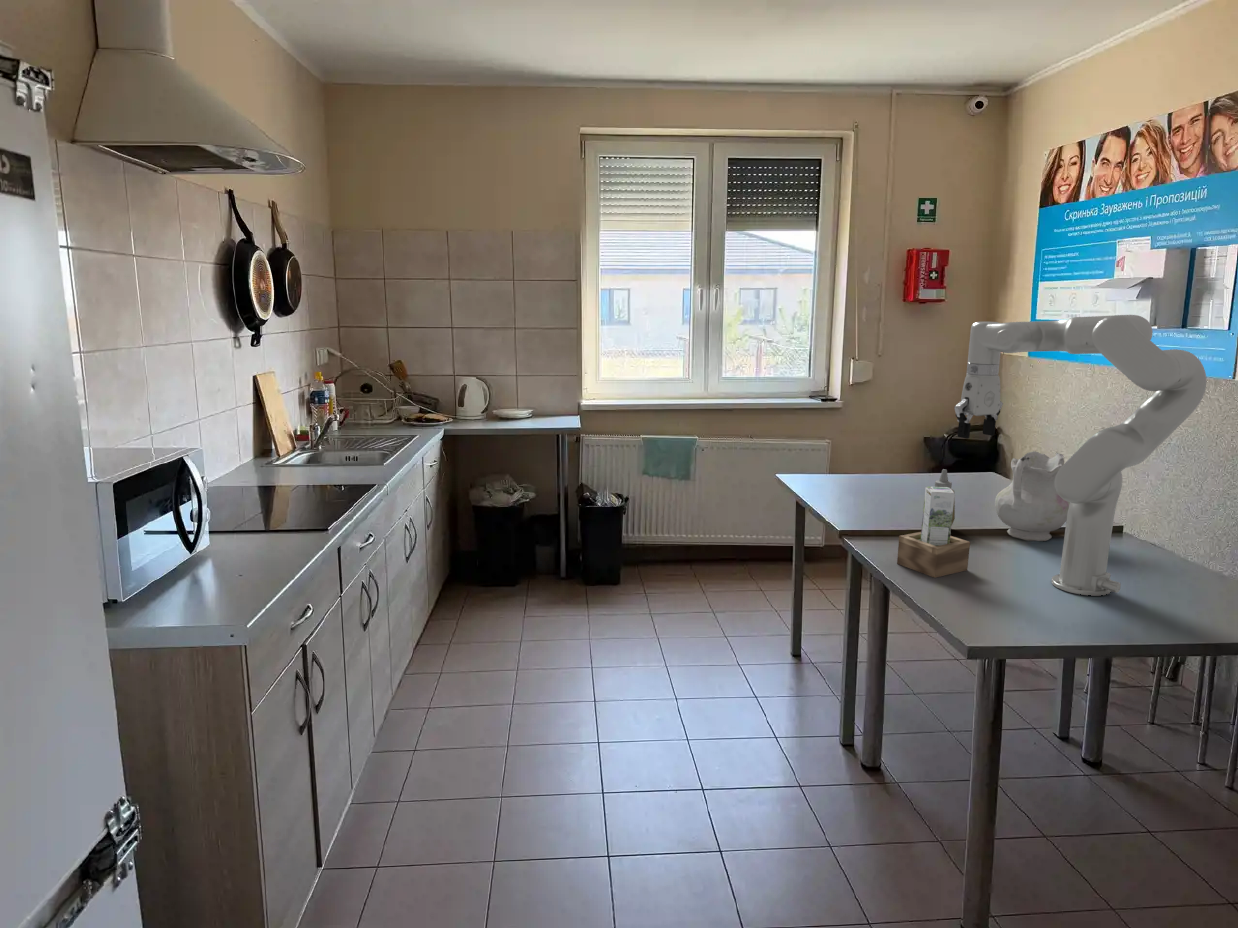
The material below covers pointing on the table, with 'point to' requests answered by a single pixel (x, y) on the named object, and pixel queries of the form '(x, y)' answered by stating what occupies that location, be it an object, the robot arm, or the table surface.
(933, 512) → the syrup box
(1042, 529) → the ceramic pitcher
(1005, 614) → the table surface
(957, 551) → the wooden box
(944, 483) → the squeeze bottle
